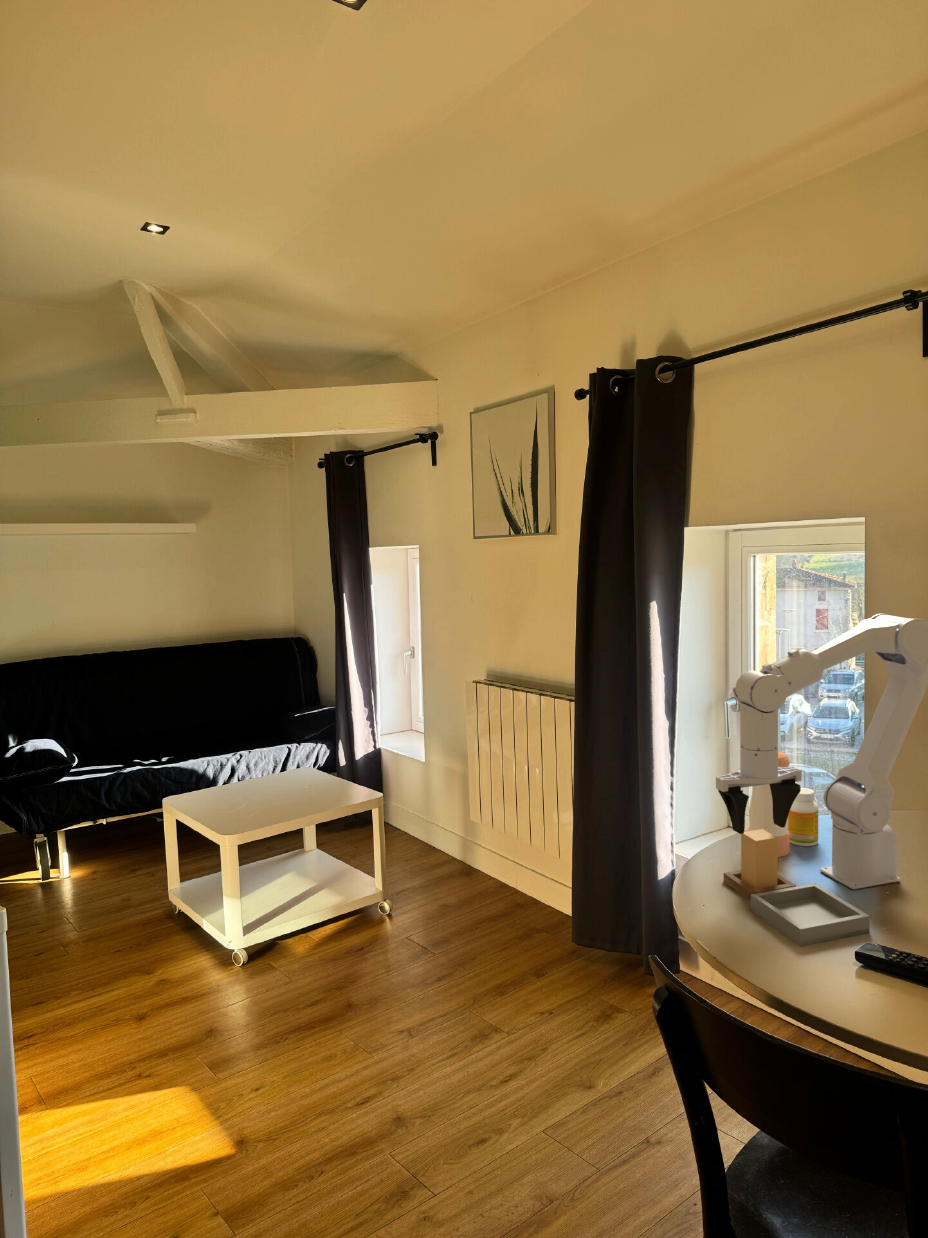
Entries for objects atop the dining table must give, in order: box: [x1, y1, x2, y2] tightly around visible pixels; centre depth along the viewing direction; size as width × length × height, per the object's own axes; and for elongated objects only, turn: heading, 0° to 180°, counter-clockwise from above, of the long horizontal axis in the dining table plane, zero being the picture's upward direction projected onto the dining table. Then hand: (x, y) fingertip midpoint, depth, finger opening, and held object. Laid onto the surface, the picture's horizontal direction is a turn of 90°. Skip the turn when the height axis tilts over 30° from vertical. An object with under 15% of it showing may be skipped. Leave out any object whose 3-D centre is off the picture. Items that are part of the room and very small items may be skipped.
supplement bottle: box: [787, 787, 819, 847], centre depth 152 cm, size 5×5×10 cm
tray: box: [750, 883, 871, 947], centre depth 122 cm, size 12×12×2 cm
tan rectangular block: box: [740, 829, 779, 889], centre depth 133 cm, size 4×4×9 cm
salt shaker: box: [746, 750, 791, 858], centre depth 148 cm, size 7×7×19 cm
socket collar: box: [723, 869, 797, 902], centre depth 134 cm, size 8×8×2 cm
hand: (759, 828), depth 133 cm, fingers open, 7 cm apart
